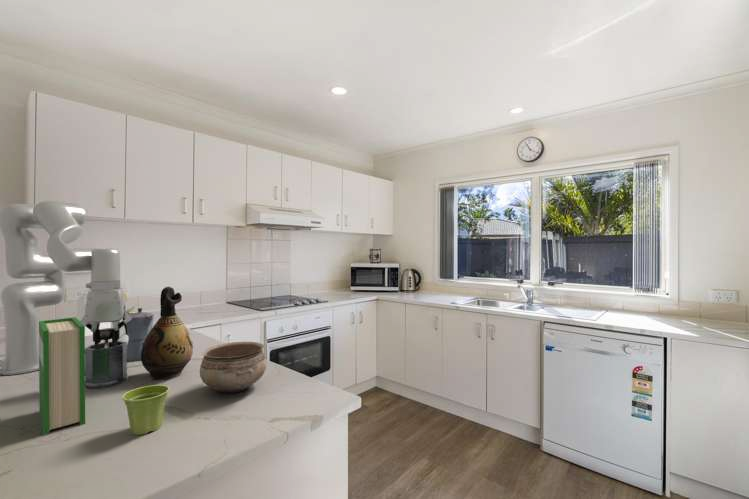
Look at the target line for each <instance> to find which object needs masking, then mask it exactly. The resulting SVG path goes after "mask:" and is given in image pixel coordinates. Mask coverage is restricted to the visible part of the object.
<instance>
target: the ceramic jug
mask: <svg viewBox="0 0 749 499" xmlns="http://www.w3.org/2000/svg"><path fill="white" fill-rule="evenodd" d="M182 298H183V296H182V295H181V293H180V292H176V293H175V289H174V288H173V287H171V286H166V287H164V288H162V290H161V292H160V299H159V301H160V315H159V316H160V317H159V318H158V320H157V321H156V323H155V324H154V325H152V329H151V330H150V332H149V334H148V335H147V337H146V339H145V341H144V343H143V347H142V350H141V360H140V361H141V364H142V366H143V368H144V369H145V370H146V372H148V373H149V376H150V379H152V380H153V381H159V380H161V381H162V380H163V381H165V380H170V379H173V378H175V377H179V376H180V375H181V374H182V372H183V371H184V369H185V367H186V366H187V365H188V364H189V362H191V359H192V356H193V351H194V343H193V340H192V337H191V335H190V332H189V330H188V329H187V327H186V326H185V324H184V323H183V321H182V320H181V318H179V316H178V314H177V313H176V307H175V306H176V305H177V304H179V303H180V302H182Z"/></svg>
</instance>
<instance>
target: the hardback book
mask: <svg viewBox="0 0 749 499" xmlns="http://www.w3.org/2000/svg"><path fill="white" fill-rule="evenodd" d="M85 337H86V336H85V326H84V325H83V324H82V323H81V322H80V321H79V320H78V319H77V316H75V317H66V318H57V319H47V320H42V321H39V370H38V371H39V372H38V373H39V374H38V376H39V377H38V379H39V380H38V381H39V387H38V388H39V389H38V390H39V393H38V394H39V398H38V399H39V401H38V402H39V403H38V404H39V405H38V406H39V407H38V408H39V411H38V412H39V418H40V422H41V428H42V433H43V436H47V435H50V431H51V430H54V429H58V428H62V427H65V426H70V425H72V424H76V423H79V425H80V426H82V425H86V388H85V348H86V347H85V346H86V338H85Z"/></svg>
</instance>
